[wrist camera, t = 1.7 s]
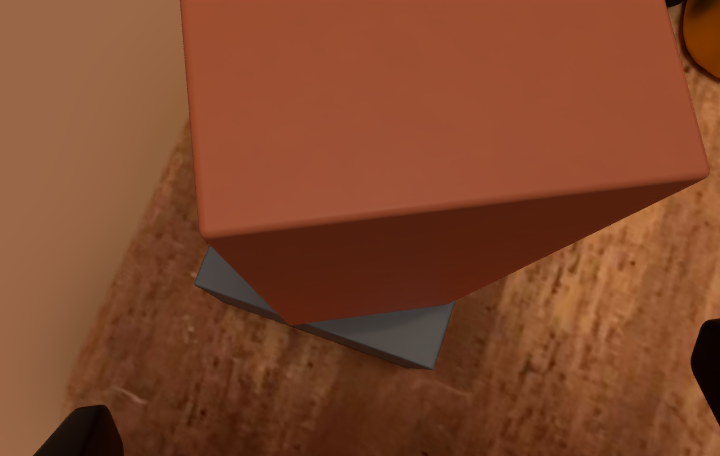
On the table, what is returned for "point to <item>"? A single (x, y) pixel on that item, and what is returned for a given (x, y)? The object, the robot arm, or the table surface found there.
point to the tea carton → (425, 140)
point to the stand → (342, 320)
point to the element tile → (703, 33)
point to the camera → (672, 2)
